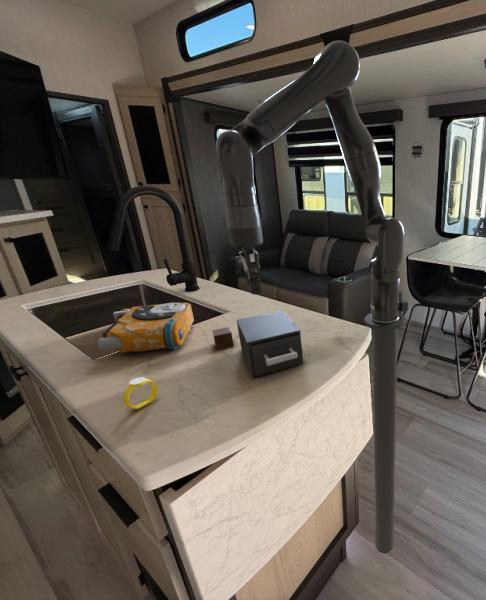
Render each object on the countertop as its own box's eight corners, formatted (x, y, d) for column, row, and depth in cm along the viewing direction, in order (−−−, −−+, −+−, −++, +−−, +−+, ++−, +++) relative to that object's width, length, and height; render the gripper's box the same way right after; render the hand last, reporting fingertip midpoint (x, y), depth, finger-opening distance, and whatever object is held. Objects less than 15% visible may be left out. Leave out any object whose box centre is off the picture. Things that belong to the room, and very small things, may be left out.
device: (71, 339, 78) (120, 299, 105) (82, 367, 81) (127, 322, 108) (176, 326, 85) (197, 292, 112) (183, 353, 88) (202, 313, 115)
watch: (133, 415, 65) (125, 390, 62) (124, 411, 66) (116, 387, 63) (162, 398, 70) (155, 374, 68) (154, 395, 71) (147, 372, 69)
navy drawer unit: (303, 363, 83) (300, 330, 80) (252, 377, 77) (247, 342, 74) (286, 339, 96) (282, 310, 92) (241, 350, 89) (236, 319, 86)
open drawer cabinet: (308, 370, 78) (305, 342, 76) (260, 385, 73) (255, 355, 70) (286, 340, 93) (283, 316, 91) (245, 350, 88) (240, 325, 85)
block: (231, 340, 95) (229, 326, 94) (233, 346, 92) (231, 332, 90) (215, 344, 93) (212, 330, 92) (216, 350, 90) (213, 336, 88)
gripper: (265, 227, 72) (274, 294, 78) (256, 221, 84) (264, 280, 90) (229, 229, 69) (241, 299, 74) (225, 222, 81) (235, 283, 86)
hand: (254, 288), depth 82 cm, fingers open, 8 cm apart
